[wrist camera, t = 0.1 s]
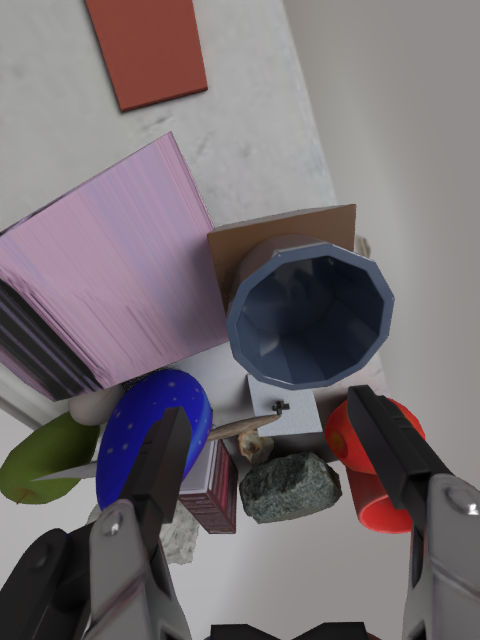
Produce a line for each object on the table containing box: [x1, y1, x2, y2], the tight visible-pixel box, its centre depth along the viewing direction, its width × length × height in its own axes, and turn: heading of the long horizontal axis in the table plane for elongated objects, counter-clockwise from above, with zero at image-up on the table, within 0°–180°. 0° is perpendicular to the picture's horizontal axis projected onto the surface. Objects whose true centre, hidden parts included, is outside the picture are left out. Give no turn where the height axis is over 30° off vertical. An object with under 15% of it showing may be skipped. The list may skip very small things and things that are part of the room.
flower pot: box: [345, 466, 412, 534], centre depth 31 cm, size 11×11×10 cm
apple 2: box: [325, 395, 425, 475], centre depth 27 cm, size 9×9×12 cm
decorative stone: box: [160, 500, 200, 565], centre depth 38 cm, size 10×9×15 cm
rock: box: [239, 451, 342, 524], centre depth 34 cm, size 18×6×14 cm
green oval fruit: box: [0, 411, 100, 504], centre depth 27 cm, size 9×8×12 cm
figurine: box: [270, 399, 291, 416], centre depth 26 cm, size 2×3×2 cm
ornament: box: [96, 369, 212, 512], centre depth 23 cm, size 11×9×15 cm
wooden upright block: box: [207, 204, 356, 318], centre depth 17 cm, size 8×8×10 cm
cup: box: [226, 233, 394, 391], centre depth 11 cm, size 6×6×5 cm
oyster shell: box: [237, 429, 274, 466], centre depth 33 cm, size 10×4×5 cm
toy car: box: [0, 131, 229, 402], centre depth 19 cm, size 15×25×10 cm, turn 113°
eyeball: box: [69, 383, 125, 426], centre depth 27 cm, size 6×6×6 cm
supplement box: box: [178, 424, 238, 534], centre depth 32 cm, size 9×5×16 cm
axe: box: [31, 414, 281, 481], centre depth 25 cm, size 30×2×10 cm
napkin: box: [86, 0, 208, 112], centre depth 15 cm, size 7×7×1 cm
